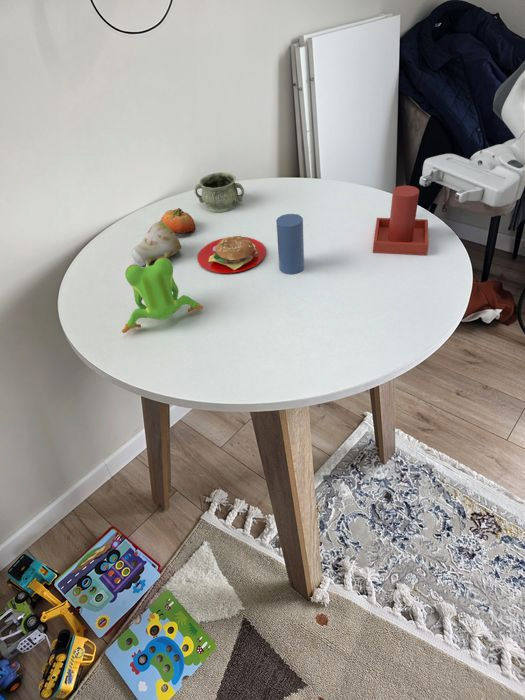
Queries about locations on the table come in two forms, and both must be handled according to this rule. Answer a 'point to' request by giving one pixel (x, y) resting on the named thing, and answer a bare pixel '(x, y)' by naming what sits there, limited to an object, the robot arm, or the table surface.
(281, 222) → the blue canister
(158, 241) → the mug
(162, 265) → the toy
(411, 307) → the table surface
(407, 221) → the red canister
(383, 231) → the red tray
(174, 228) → the tomato
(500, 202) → the robot arm
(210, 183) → the vessel
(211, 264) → the hamburger
